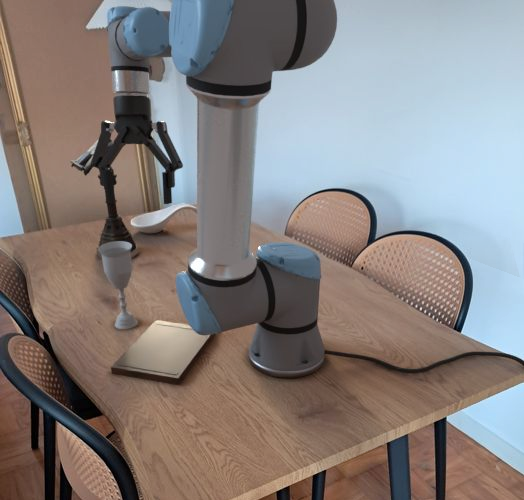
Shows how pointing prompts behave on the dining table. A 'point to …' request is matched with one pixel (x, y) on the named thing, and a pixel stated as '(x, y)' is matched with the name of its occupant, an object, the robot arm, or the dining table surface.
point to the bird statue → (114, 223)
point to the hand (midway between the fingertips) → (138, 202)
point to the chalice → (119, 276)
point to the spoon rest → (158, 218)
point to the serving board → (163, 353)
